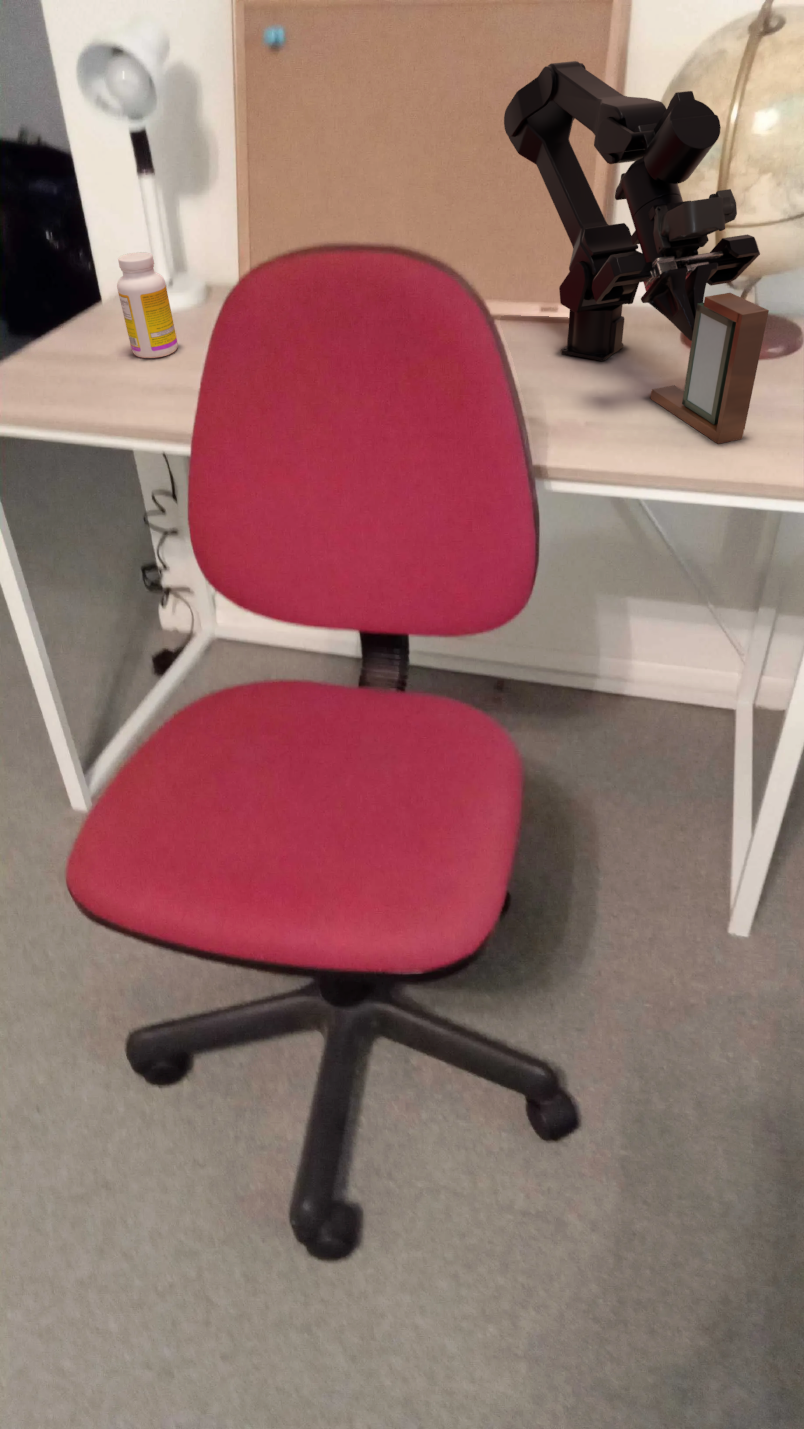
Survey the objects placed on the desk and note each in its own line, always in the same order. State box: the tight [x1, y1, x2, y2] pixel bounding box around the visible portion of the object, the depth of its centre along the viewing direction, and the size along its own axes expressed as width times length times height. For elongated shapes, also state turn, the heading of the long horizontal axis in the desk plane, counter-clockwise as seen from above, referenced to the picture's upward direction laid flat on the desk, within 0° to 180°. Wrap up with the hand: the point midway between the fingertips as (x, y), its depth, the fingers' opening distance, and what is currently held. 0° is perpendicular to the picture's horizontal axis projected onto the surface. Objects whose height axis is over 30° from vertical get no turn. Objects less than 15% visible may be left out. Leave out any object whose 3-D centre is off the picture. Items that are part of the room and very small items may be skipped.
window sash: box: [682, 302, 736, 425], centre depth 104 cm, size 7×1×11 cm, turn 20°
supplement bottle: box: [116, 251, 179, 359], centre depth 132 cm, size 7×7×13 cm
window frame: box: [649, 292, 770, 445], centre depth 106 cm, size 14×3×14 cm, turn 19°
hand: (695, 338), depth 106 cm, fingers closed
